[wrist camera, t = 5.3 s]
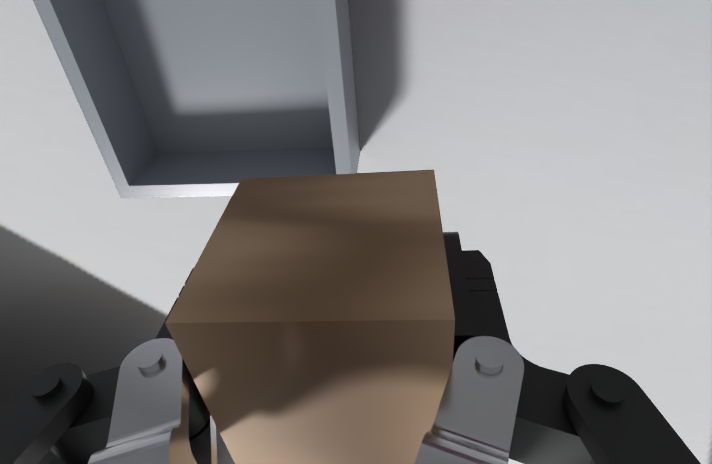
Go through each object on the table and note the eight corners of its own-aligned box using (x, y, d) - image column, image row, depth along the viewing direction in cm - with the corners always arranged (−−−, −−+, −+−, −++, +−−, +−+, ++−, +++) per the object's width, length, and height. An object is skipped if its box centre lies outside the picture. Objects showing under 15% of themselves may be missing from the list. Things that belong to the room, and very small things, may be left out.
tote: (158, 158, 30) (120, 198, 26) (27, -200, 20) (-67, -224, 16) (360, 152, 29) (353, 192, 25) (329, -239, 19) (309, -277, 15)
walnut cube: (277, 311, 15) (235, 464, 11) (241, 178, 12) (164, 323, 8) (431, 309, 14) (446, 469, 10) (433, 169, 11) (455, 319, 7)
